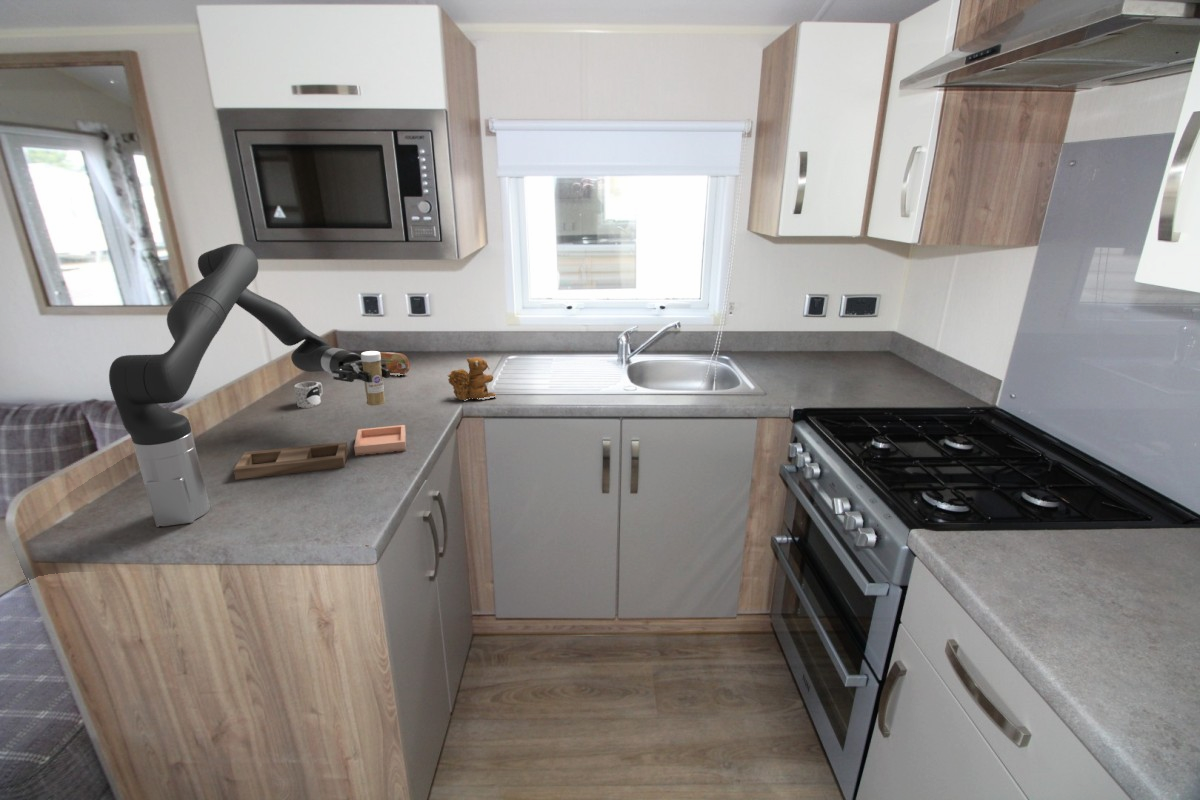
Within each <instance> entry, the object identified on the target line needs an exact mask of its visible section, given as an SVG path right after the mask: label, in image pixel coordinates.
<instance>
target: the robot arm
mask: <svg viewBox="0 0 1200 800" xmlns="http://www.w3.org/2000/svg"><path fill="white" fill-rule="evenodd" d="M197 267H198V270H199V273H200V274H201V275H202V277H203V278H202V279H201V280H198V281H197V282H196V283H194V284H193V285H191V286H189V287H188V288H187V289H186V290H185V291H184V292H182V293H181V294H180V296H179V297H178V298H176V300H175V302H173V304H172V306H171V307H170V309H169V311H168V313H167V316H166V325H167V327H168V330H169V333H170V334H171V337H172V339H173V340H174V342H173V344H172V346H171V347H169V349H168V350H167V351H166V352H164V353H161V354H158V353H156V354H128V355H127V354H126V355H121V356H118V357H117V358H115V359H114V360H113V361H112V363H111V365H110V367H109V373H108V380H109V381H108V382H109V386H110V391H111V393H112V394H111V395H112V397H113V399H114V402H115V405H116V407H117V410H118V413H119V416H120V418H121V422H122V424H123V427H124V428H125V430H126V432H127V433H128V434H129V436H130V438H131V440H132V445H133V448H134V451H135V456H136V459H137V463H138V465H139V469H140V473H141V474H140V475H141V476H142V477H141V478H142V480H143V484H144V487H145V491H146V494H147V497H148V502H149V505H150V508H151V512H152V516H153V519H154V523H155V525H156V526H155V527H156V528H159V526H162V527H168V526H175V525H184V524H190V523H191V524H192V523H194V522H195V521H196V519H199V518H201V517H203V516H204V515H206V514H207V513H208V512H209V511H210V508H211V506H210V502H209V501H210V500H209V498H208V493H207V489H206V485H205V481H204V477H203V471H202V469H201V465H200V461H199V456H198V452H197V449H196V444H195V439H194V435H193V431H192V427H191V423H190V420H189V419H188V417H187V416H185V415H183V414H180V413H176V412H173V411H170V410H168V409H167V408H164V407H163V406H162V405H160V404H171V403H176V402H179V401H180V400H182V399H183V398H184V397H185V396H186V394H187V393H188V391H189V390H190V387H191V385H192V383H193V381H194V379H195V376H196V374H197V372H198V369H199V367H200V364H201V361H202V360H203V357H204V356H205V354H206V352H207V350H208V348H209V347H210V344H211V343H212V341H213V339H214V338H215V336H216V335H217V334H218V332H219V331H220V330H221V328H222V326H223V324H224V323H225V320H226V319H227V317H228V315H229V313H230V312H231V310H232V309H233V307H234V306H235V304H236V305H238V307H240V308H241V309H243V310H244V311H246V312H247V313H248V314H250V315H251V316H253V317H254V318H255V319H256V320H258V321H259V322H260V323H261V324H263V325H264V326H265V328H267V329H268V331H270V332H271V333H272V334H273V335H274V336H275V338H276V339H278V340H279V341H280V342H281V343H282V344H283V345H285V346H287V347H291V346H294V345H297V344H299V343H300V344H299V346H298V347H296V348H295V350H293V352H292V354H291V357H290V359H291V363H292V364H293V365H294V366H295V367H296V368H298V369H299V370H301V371H304V372H308V373H315V372H317V373H318V372H325V373H328V374H329V375H331V376H332V377H333V380H335V381H341V382H347V383H348V382H349V383H352V382H353V383H354V381H357V382H360V381H362V382H364V381H365V382H368V383H370V382H372V378H371V374H370V373H367V372H364V371H363V363H362V361H361V354H358V353H356V352H353V351H350V350H347V349H344V348H343V349H342V348H337V347H335V346H331V345H330V343H329V342H328V341H327V340H326V339H324V338H322V337H321V336H320V335H318V334H316V333H314V332H312V331H311V330H310V329H308V328H306V326H304V325H303V324H302V322H300V321H299V320H298V319H297V317H296V316H295V315H294V314H293V313H292V312H291V311H290V310H288V308H286V307H285V306H282V305H281V304H279V303H278V302H275V301H273V300H271V299H268V298H266V297H263V296H261V295H259V294H258V293H255V292H254V291H251V290H250V289H248V286H250V285H251V283H253V281H254V280H256V278H257V275H258V272H259V261H258V258H257V256H256V254H255V252H254V251H253V250H252V249H251V248H250V247H248V246H246V245H245V244H242V243H228V244H225V245H222V246H219V247H217V248H215V249H211V250H208V251H206V252H203V253H201V254H200V256H199V257H198V259H197ZM380 363H381V371H382V378H385V379H389V378H390V377H391V376H390V372H389V370H388V369H387V364H386V363H385V362H383V361H382V360H380Z"/></svg>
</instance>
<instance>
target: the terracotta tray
mask: <svg viewBox="0 0 1200 800" xmlns="http://www.w3.org/2000/svg"><path fill="white" fill-rule="evenodd" d="M406 432H407V431H406V424H401V425H389V426H379V427H371V428H370V427H369V428H359V429H357V432H356V437H355V441H354V445H353V449H354V455H355V457H358V456H357V455H361V456H366V455H365V454H370V455H377V454H376V453H379V454H385V452H388V453H394V451H397V452H404V451H407V446H406V445H407V444H406V443H407V439H406V438H407V433H406Z"/></svg>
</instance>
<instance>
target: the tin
mask: <svg viewBox="0 0 1200 800" xmlns="http://www.w3.org/2000/svg"><path fill="white" fill-rule="evenodd" d="M379 352H380V355H381V360H382V361H383V362H385V363H386V364H387V369H388V370H389V372H390V373H400V374H405V373H406V374H407V373H409V371H410V367H411V364H410V360H409V358H408V357H407V356H406V355H405V354H404V353H398V352H387V351H379ZM406 374H405V375H406Z"/></svg>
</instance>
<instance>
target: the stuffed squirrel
mask: <svg viewBox="0 0 1200 800" xmlns="http://www.w3.org/2000/svg"><path fill="white" fill-rule="evenodd" d="M466 361H467V364H468V369H469V371H466V370H465V369H463V368H462V369H461V368H460V369H457V370H456V369H455V370H451V372H450V373H449V374H447V377H448V379H447V380H448V383H449V384H450V385H451V386H452V387H453V388H452V389H453V393H454V395H455V397H456V398H457V399H458V400H459V401H462V400H466V399H469V398H470V399H469V400H473V399H477V398H478V399H479V398H484V397H490V396H495V395H496V396H497V394H496V393H494V392H489V391H488V385H487V384H488V383H491V382H493V380H494V376H493V375H492V374H486V373H484V372H485V371H486V370H490V367H489V365H488V362H487V361H486V360H485V359H484V358H482V357H479V356H478V357H477V356H476V357H475V356H474V357H472V358H471V357H467V358H466ZM472 398H473V399H472Z"/></svg>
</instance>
